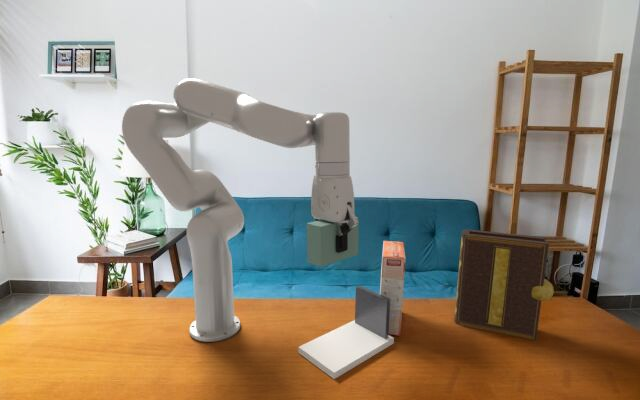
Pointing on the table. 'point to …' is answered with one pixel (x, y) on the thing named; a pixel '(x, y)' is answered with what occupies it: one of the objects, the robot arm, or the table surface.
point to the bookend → (372, 311)
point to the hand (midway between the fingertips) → (333, 248)
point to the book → (502, 282)
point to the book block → (329, 243)
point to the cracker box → (393, 281)
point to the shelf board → (343, 348)
